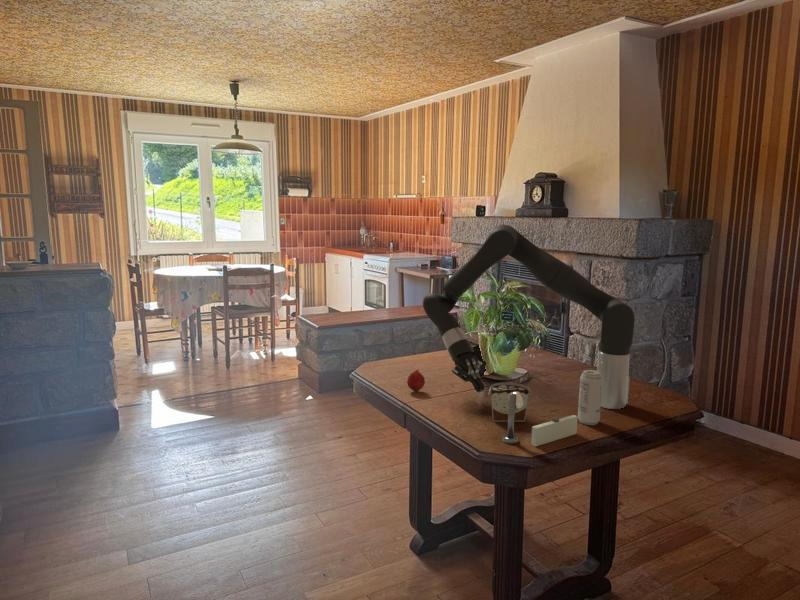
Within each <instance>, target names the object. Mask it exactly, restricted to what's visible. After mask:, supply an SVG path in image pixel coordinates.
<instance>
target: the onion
mask: <svg viewBox="0 0 800 600" xmlns="http://www.w3.org/2000/svg"><path fill="white" fill-rule="evenodd" d="M406 379H407V381H406V382H407V383H406V384H407V385H408V388H409V389H410V390H412V391H413V392H414V393H417V392H419V391H420V390H422V389H423V387H424V386H425V384H426V379H425V377H424V375H423V374H422V373H421V372H419V368H415V369H414V370H413V371H412V372H411V373H410V374H409V375H408V377H407V378H406Z"/></svg>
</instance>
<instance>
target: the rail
mask: <svg viewBox="0 0 800 600" xmlns="http://www.w3.org/2000/svg"><path fill="white" fill-rule="evenodd" d="M577 429H578V415H575V414H572V415H571V414H570V415H569V416H568V415H567V416H564V417H561V418H558V417H556V416H554V417H552V418H551V421H547V422H543V423H540V424H537V425H533V426H531V438H530V439H531V442H530V445H531V446H533V447H534V448H536V447H539V446H541V445H545V444H548V443H551V442H554V441H558V440H561V439H565V438H568V437H570V436H574V435H577V432H578V430H577Z"/></svg>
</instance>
